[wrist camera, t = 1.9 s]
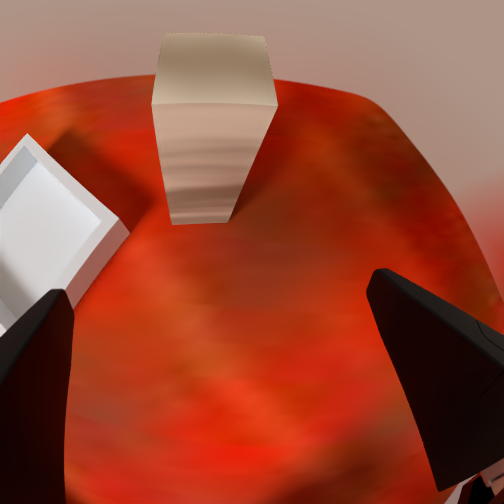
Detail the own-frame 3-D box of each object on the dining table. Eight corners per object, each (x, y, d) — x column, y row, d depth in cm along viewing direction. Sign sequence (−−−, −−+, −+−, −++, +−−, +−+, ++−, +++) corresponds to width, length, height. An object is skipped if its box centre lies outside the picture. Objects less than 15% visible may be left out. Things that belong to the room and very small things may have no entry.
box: (44, 355, 16) (21, 361, 13) (-31, 258, 16) (-54, 250, 12) (130, 233, 19) (119, 218, 16) (43, 154, 19) (27, 133, 16)
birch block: (227, 222, 21) (278, 106, 9) (172, 224, 20) (151, 104, 8) (224, 172, 22) (264, 37, 9) (172, 174, 21) (163, 33, 8)
